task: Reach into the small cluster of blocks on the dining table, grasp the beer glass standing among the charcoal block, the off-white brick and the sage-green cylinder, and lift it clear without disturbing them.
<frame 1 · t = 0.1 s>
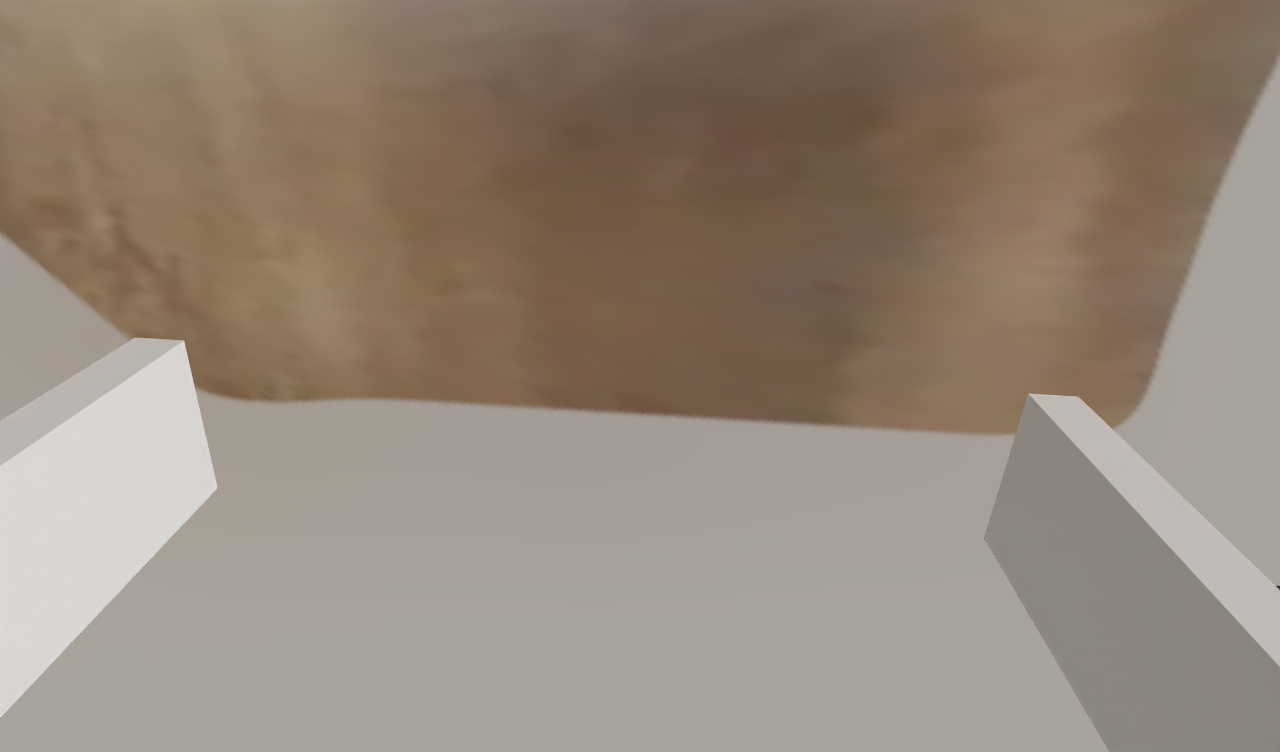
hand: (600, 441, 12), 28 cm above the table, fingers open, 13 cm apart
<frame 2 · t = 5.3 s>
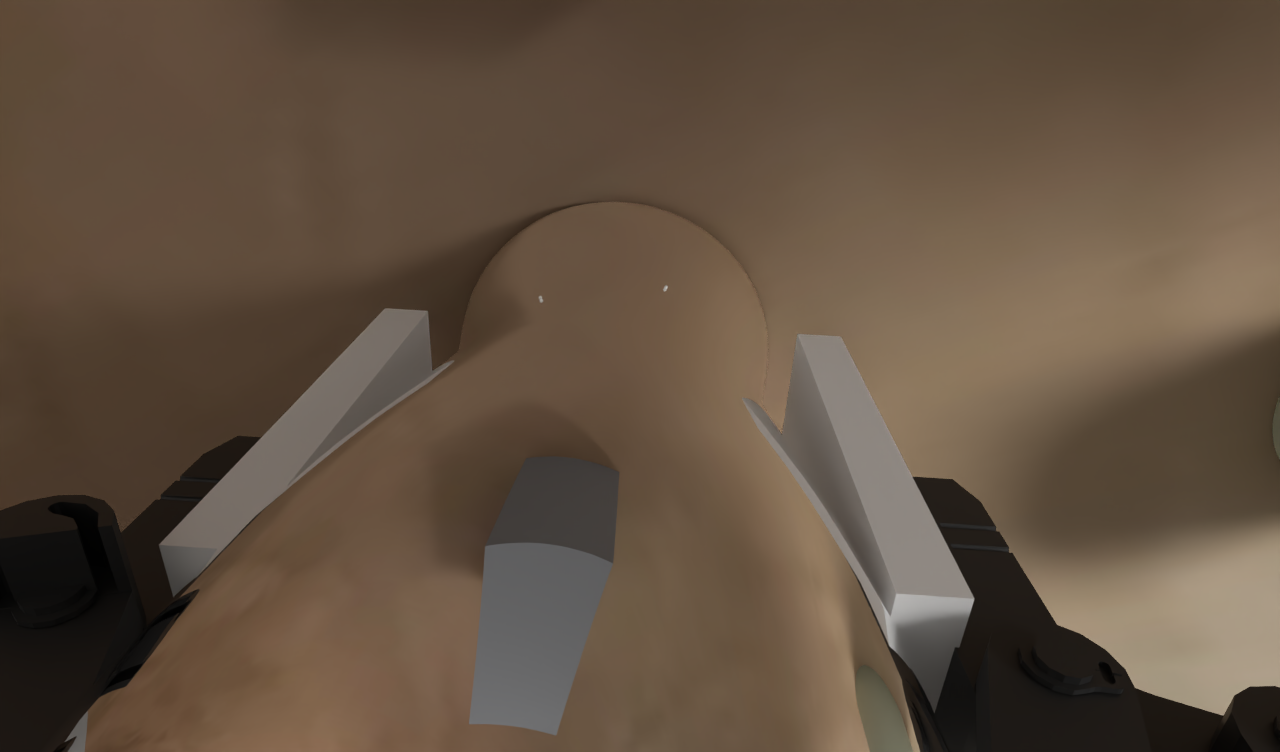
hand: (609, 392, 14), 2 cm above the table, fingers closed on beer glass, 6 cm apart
beer glass: (617, 344, 16), on the table, touching gripper
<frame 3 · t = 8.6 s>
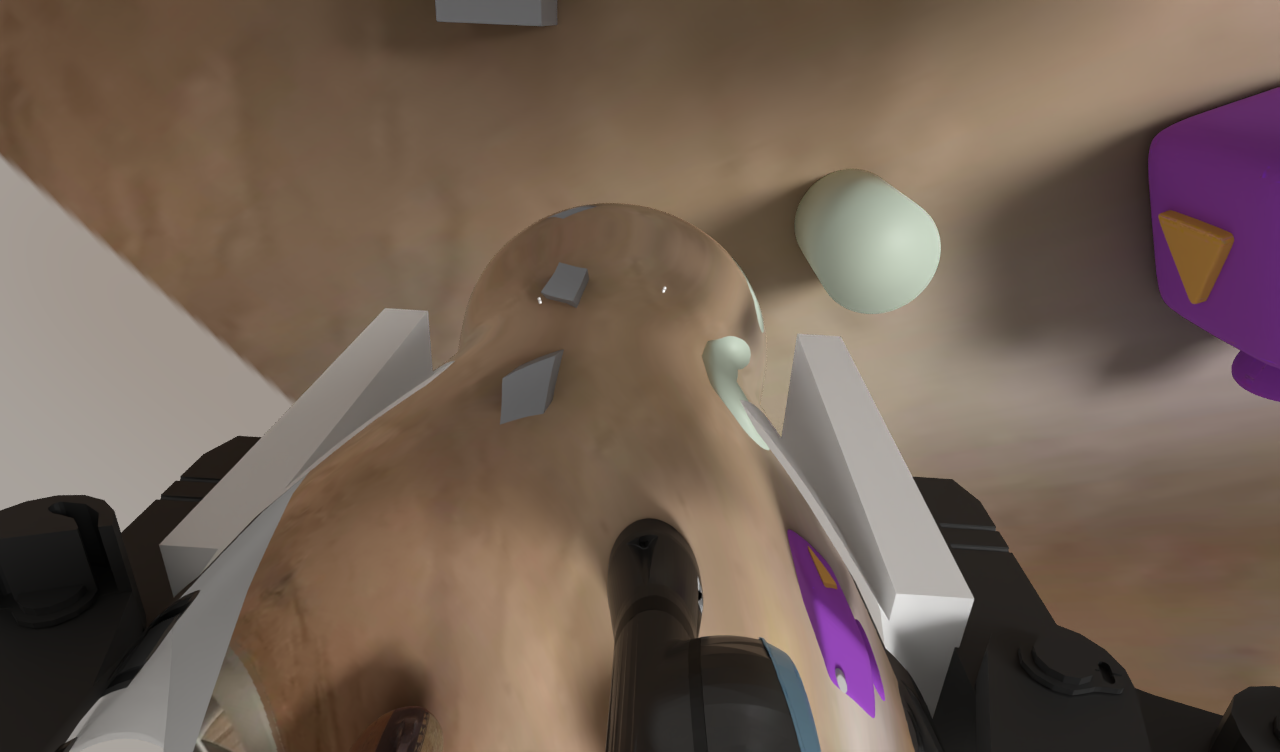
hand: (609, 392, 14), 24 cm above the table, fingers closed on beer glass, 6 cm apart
beer glass: (616, 345, 16), point 22 cm above the table, touching gripper
sage cylinder: (846, 221, 37), on the table
toy camera: (1244, 220, 37), on the table
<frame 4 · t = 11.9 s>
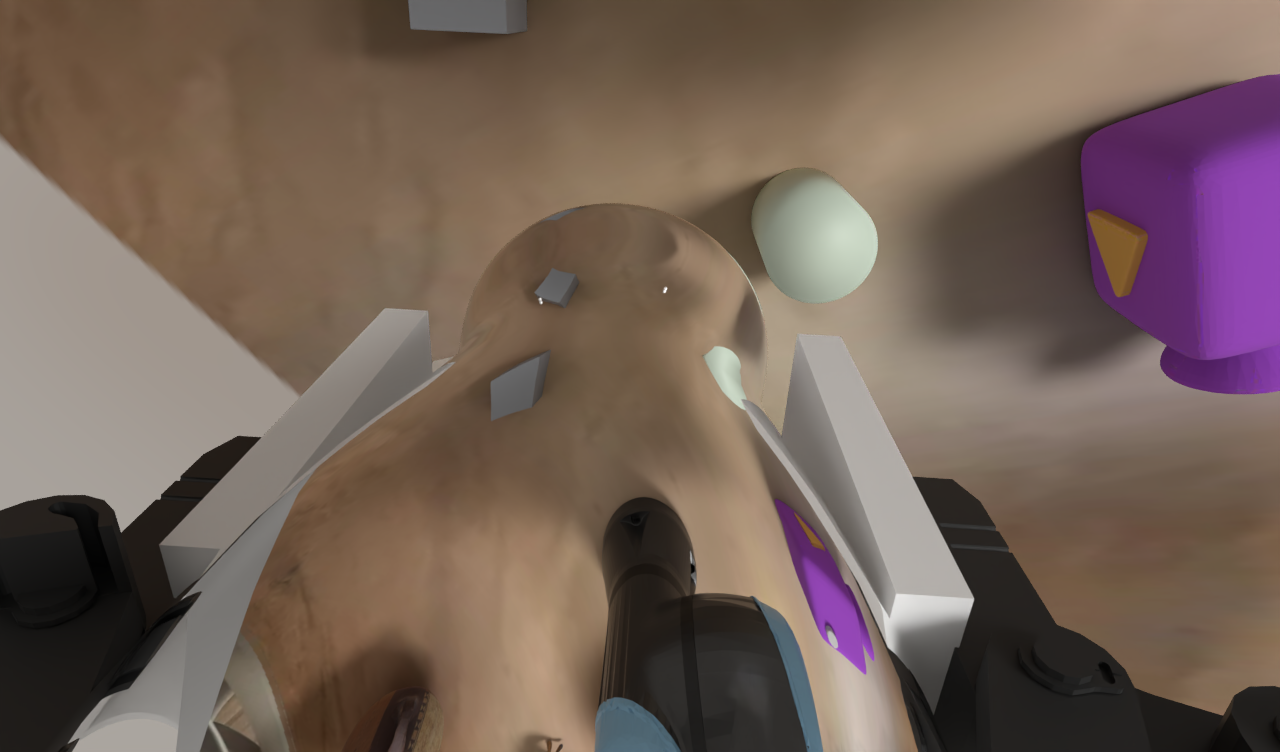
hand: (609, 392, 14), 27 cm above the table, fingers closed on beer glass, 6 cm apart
beer glass: (616, 345, 16), point 25 cm above the table, touching gripper
sage cylinder: (799, 217, 39), on the table
toy camera: (1175, 218, 39), on the table
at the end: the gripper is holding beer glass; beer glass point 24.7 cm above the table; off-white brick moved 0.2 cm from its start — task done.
